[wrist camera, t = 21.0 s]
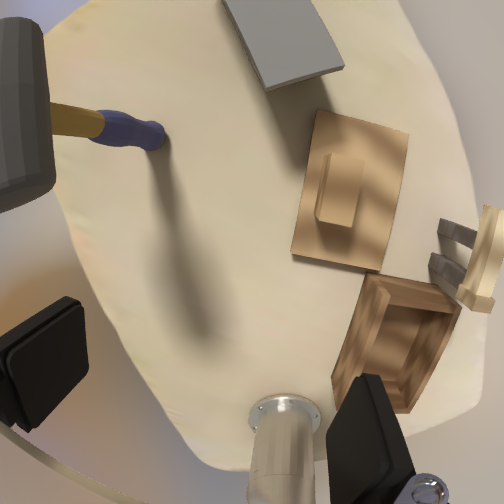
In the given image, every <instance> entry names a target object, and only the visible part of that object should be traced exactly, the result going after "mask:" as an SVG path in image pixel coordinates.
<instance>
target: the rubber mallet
mask: <svg viewBox="0 0 504 504" xmlns="http://www.w3.org/2000/svg"><path fill="white" fill-rule="evenodd" d="M52 134H53V135H65V136H75V137H84V138H88V139H90V140H92V141H93V142H96V143H99V144H103V145H107V146H114V147H123V146H137V147H140V148H142V149H144V150H147V151H152V150H155V149H158V148H159V147H160V146H161V145H162V143H163V142H164V139H165V131H164V128H163V126H162V125H161V124H159V123H157V122H155V121H142V120H139V119H135V118H134V117H132V116H130V115H128V114H126V113H123V112H119V111H113V110H97V111H93V110H88V109H84V108H79V107H74V106H68V105H63V104H57V103H52V102H50V94H49V86H48V78H47V69H46V59H45V50H44V40H43V33H42V31H41V29H40V27H39V25H38V24H37V23H35V22H34V21H32V20H31V19H27V18H23V17H9V18H3V19H0V213H2V212H5V211H8V210H11V209H13V208H16V207H18V206H21V205H24V204H26V203H28V202H30V201H33V200H35V199H37V198H38V197H41V196H42V195H44V194H46V193H47V192H49V191H50V190H51V189H52V188H53V186H54V184H55V183H56V169H55V160H54V150H53V138H52Z"/></svg>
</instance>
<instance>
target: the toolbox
mask: <svg viewBox="0 0 504 504" xmlns="http://www.w3.org/2000/svg"><path fill="white" fill-rule="evenodd" d="M437 232H438V233H440V234H442V235H444V236H446V237H448V238H450V239H452V240H455V241H457V242H459V243H461V244H463V245H465V246H467V247H469V248H470V249H472V250H473V248H474V244H475V240H476V236H477V231H475V230H472V229H470V228H467V227H465V226H462V225H459V224H457V223H454V222H451V221H448V220H444V219H441V218H440V222H439V227H438V231H437ZM428 266H429V267H430V268H431V269H433V270H434V271H435V272H436V273H438V274H439V275H440V276H442V277H443V278H444V279H445V280H447V281H448V282H449V283H451V284H452V285H453V286H454V287H456V288H457V289H458V287H459V284H463V281H464V278H465V275H466V272H467V270H466V269H465V268H463V267H462V266H460V265H459V264H457V263H455V262H454V261H452V260H451V259H449V258H447V257H446V256H444V255H440V254H436V253H431V257H430V260H429V264H428ZM461 309H462V307H461V306H460V305H459V304H458V303H457V302H456V301H455V300H454V299H452V298H451V297H450V296H449V295H448V294H447V293H446V292H444V291H443V290H442V289H441V288H440V287H439V286H438V285H434V284H429V283H424V282H419V281H414V280H408V279H403V278H398V277H393V276H387V275H382V274H377V273H372V272H366V274H365V278H364V281H363V284H362V288H361V291H360V295H359V298H358V301H357V304H356V307H355V311H354V314H353V317H352V320H351V323H350V326H349V329H348V332H347V335H346V338H345V340H344V343H343V346H342V349H341V352H340V354H339V357H338V360H337V362H336V365H335V368H334V370H333V373H332V375H331V379H332V385H333V391H334V397H335V404H336V410H337V411H338V410H339V408H340V406H341V404H342V402H343V400H344V398H345V396H346V394H347V392H348V390H349V388H350V386H351V384H352V382H353V380H354V378H355V377H356V376H358V377H359V376H360V375H361V374H362V373H369V374H378V375H380V377H381V379H382V382H383V384H384V387H385V390H386V392H387V395H388V397H389V400H390V402H391V405H392V408H393V410H394V413H395V414H409V413H410V412H411V410H412V408H413V407H414V405H415V404H416V402H417V400H418V398H419V397H420V395H421V393H422V392H423V390H424V388H425V386H426V384H427V383H428V381H429V379H430V377H431V375H432V373H433V371H434V369H435V367H436V365H437V363H438V361H439V359H440V357H441V355H442V353H443V351H444V349H445V347H446V345H447V343H448V340H449V338H450V336H451V334H452V331H453V329H454V327H455V324H456V322H457V319H458V317H459V315H460V312H461Z"/></svg>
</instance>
